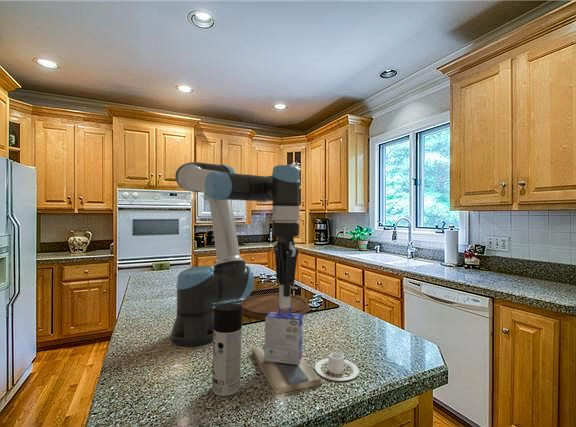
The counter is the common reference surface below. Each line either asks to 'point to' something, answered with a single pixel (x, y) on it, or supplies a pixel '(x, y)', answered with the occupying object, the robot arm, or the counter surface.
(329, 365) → the candle holder
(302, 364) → the rail board
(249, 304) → the cutting board
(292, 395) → the counter surface
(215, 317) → the spray can
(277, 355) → the ink cartridge box
